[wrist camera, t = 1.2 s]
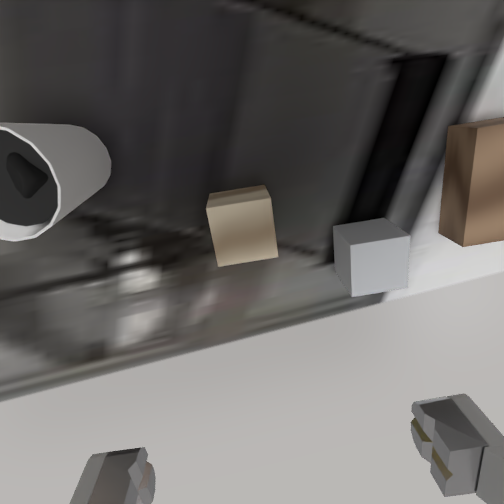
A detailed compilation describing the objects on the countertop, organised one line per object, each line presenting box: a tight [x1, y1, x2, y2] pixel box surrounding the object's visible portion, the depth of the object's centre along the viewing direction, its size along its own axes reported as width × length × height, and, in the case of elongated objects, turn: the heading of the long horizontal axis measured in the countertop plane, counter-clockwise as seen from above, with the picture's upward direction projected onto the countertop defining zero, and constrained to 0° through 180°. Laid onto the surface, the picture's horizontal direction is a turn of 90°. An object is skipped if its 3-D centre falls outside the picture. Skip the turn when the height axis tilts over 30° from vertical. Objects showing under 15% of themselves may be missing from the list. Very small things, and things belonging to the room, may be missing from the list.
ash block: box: [206, 185, 278, 267], centre depth 28 cm, size 5×5×5 cm
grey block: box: [333, 218, 410, 297], centre depth 30 cm, size 5×5×5 cm
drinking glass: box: [0, 123, 111, 242], centre depth 23 cm, size 7×7×10 cm
